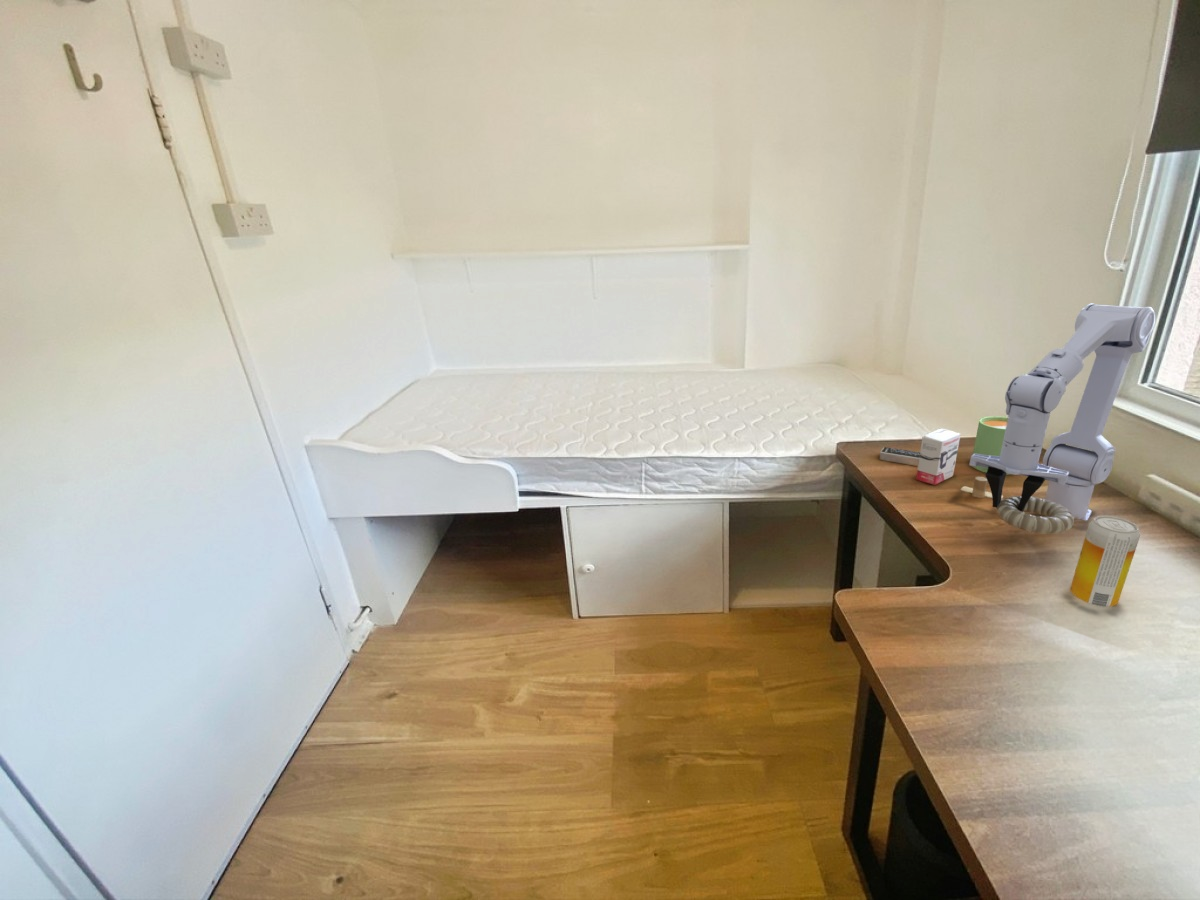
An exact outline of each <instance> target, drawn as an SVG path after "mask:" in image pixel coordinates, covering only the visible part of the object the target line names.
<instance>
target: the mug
mask: <svg viewBox="0 0 1200 900" xmlns="http://www.w3.org/2000/svg"><path fill="white" fill-rule="evenodd" d="M1007 421H1008V417H1007V416H984V417H981V418H980V419H979V420H978V424H977V426H978V427H977V430H976V435H975V441H974V446H973V451H972V455H973V454H974V453H975V454H981V455H991V456H1000V454H1001V449H1002V444H1003V440H1004V435H1005V430H1006V425H1007ZM971 467H972V468H974V469H975V470H977V471H980V472H983V473H986V472H987V470H988V468H986V467H981V466H971ZM1009 475H1011V474H1009V473H1007V474H1006V476H1009Z"/></svg>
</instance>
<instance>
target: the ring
mask: <svg viewBox="0 0 1200 900" xmlns="http://www.w3.org/2000/svg"><path fill="white" fill-rule="evenodd" d="M1021 496H1022V495H1016V496H1015V495H1013V496H1009V497H1006V498H1003V500H1001V501H1000V503H999V504H998V506H997V508H996V512H997V514H998V517H999V518H1000V519H1001V520H1002V521H1004V522H1005V523H1006V524H1008V525H1009V526H1012V527H1014V528H1017V529H1018V530H1022V531H1026V532H1030V533H1033V534H1042V535H1043V534H1044V535H1056V534H1057V535H1058V534H1062V533H1064V532H1067V531H1069V530H1071V529H1072V527H1073V525H1074V523H1075V519H1074V517H1073V515H1072V514H1071V512H1070V511H1069V510H1068V509H1066V508H1065V507H1063V506H1062V505H1060V504H1058V503H1055V502H1052V501H1050V500H1046V499H1045V498H1041V497H1037V496H1031V497H1030V499H1029V500H1028V502H1027V504H1026V506H1025V508H1024V511H1023V512H1021V511H1019V510H1018V506H1019V503H1020V500H1021ZM1030 513H1033V514H1030ZM1034 514H1035V515H1034ZM1036 514H1037V515H1036ZM1039 515H1041V516H1039Z"/></svg>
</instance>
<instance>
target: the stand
mask: <svg viewBox="0 0 1200 900" xmlns="http://www.w3.org/2000/svg"><path fill="white" fill-rule="evenodd" d="M987 486H988V481H987V479H986V476H985V477H984V476H975V477H974V482H973V486H972V487H969V486H966V485H964V486H962V487H961V488H960V490H959V491H962V492H966V493H971V496H972V497H974V498H978V499H983V498H985V497H987V498H991V499H993V498H992V492H991V491H987ZM1003 499H1004V495H1003V494H1002V496H1001V501H1002V500H1003Z"/></svg>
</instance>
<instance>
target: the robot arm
mask: <svg viewBox="0 0 1200 900" xmlns="http://www.w3.org/2000/svg"><path fill="white" fill-rule="evenodd" d="M1155 312H1156V311H1154V309H1153V308H1152V307H1151V306H1143V307H1140V306H1124V305H1123V306H1122V305H1109V304H1108V305H1106V304H1096V303H1088V304H1086V305H1085V306H1084V307H1083V308H1081V310H1080V311H1079V312H1078V314H1077V317H1076V319H1075V323H1074V332H1073V334H1072V336H1070V338H1069V339H1068V340H1067V341H1066V343H1065V344H1064V345H1063V346H1062V348H1057V349H1052V350H1051V351H1049V352H1048V353H1047V354H1046V355H1045V356H1044V357H1043V358H1042V359H1041V360H1040V361H1039V362H1038V363H1037V364H1036V365H1035V366H1033V368H1032V369H1031V370H1030V371H1029V372H1028V373H1027V374H1025V373H1024V374H1021V375H1019V376H1015V377H1014V378H1012V380H1011V381H1010V382H1009V384H1008V387H1007V389H1006V391H1005V394H1004V395H1005V396H1004V399H1005V404H1006V406H1005V407H1006V408H1005V414H1006V415H1007V416H1008V421H1007V425H1006V430H1005V435H1004V440H1003V444H1002V449H1001V454H1000V456H991V455H981V454H975V453H974V454H973V453H972V455H970V459H969V463H968V465H969V466H970V467H972V466H981V467H986V468H988V470H987V472H985V478H986V479H987V481H988V482H987V484H988V485H989V488H990V492H991V493H992V498H991V499H992V507H993V508H996V509H997V506H998V504H999V503H1000V502H1001V501H1002V500H1001V496H1002V495H1003V489H1004V488H1003V487H1004V484H1005V480H1006V476H1007V475H1006V474H1007V473H1009V474H1010V475H1013V476H1025V477H1026V478H1025V479H1024V480H1023V483H1022V491H1021V495H1020V496H1021V500H1020V503H1019V506H1018V510H1019V511H1021V512H1023V511H1024V508H1025V506H1026V504H1027V502H1028V500H1029V499H1030V497H1033V495H1034V494H1035V493H1036V492H1037V491H1038V490H1039V489H1040V488H1041V487H1042V486H1043V484H1044V483H1045V481H1048V484H1047V487H1046V493H1045V497H1044V499H1046V500H1050V501H1052V502H1055V503H1058V504H1060V505H1062V506H1063V507H1065V508H1066V509H1068V510H1069V511H1070V512H1071V514H1072V515H1073V517H1074V520H1075V519H1076V520H1077V519H1079V520H1083V521H1088V520H1089V518H1090V516H1091V514H1092V509H1089V507H1090V503H1091V499H1092V496H1093V492H1094V489H1095V486H1096V485H1099V484H1102V483H1103V482H1104V481H1106V480H1107V479H1108V477H1109V475H1110V474H1111V472H1112V469H1113V466H1114V458H1115V454H1116V448H1115V447H1114V446H1113V444H1111V443H1110V441H1108V440H1107V439H1106V438H1105V437H1104V436H1103V433H1104V430H1105V428H1106V424H1107V422H1108V419H1109V416H1110V413H1111V410H1112V408H1113V406H1114V402H1115V399H1116V398H1117V397H1116V396H1117V394H1118V390H1119V388H1120V385H1121V383H1122V380H1123V377H1124V374H1125V372H1126V369H1127V366H1128V363H1129V362H1130V360H1131V358H1132V355H1134V354H1139V353H1143V352H1144V351H1145V349H1146V347H1147V345H1148V343H1149V341H1150V338H1151V335H1152V331H1153V330H1154V327H1155V325H1156V313H1155ZM1093 352H1094V353H1095V358H1094V361H1093V364H1092V367H1091V370H1090V373H1089V376H1088V379H1087V381H1086V384H1085V388H1084V390H1083V393H1082V396H1081V399H1080V401H1079V405H1078V409H1077V411H1076V413H1075V417H1074V420H1073V423H1072V425H1071V429H1070V431H1065V432H1064V433H1060V434H1058V435H1056V436H1054V437H1053V438H1052V439H1051V442H1050V444H1049V446H1048V448H1047V449H1046V451H1045V452H1044V455H1043V457H1042V463H1040V462H1039V461H1040V457H1041V454H1042V449H1043V445H1044V441H1045V437H1046V433H1047V428H1048V424H1049V420H1050V416H1051V412H1053V411H1054V410H1055V409H1057V407H1058V406H1059V404H1060V402H1061V400H1062V397H1063V395H1065V392H1066V390H1067V388H1066V387H1068V385H1069V384H1070V383H1071V382H1072V381H1073V380H1074V379H1075V378H1076V377H1077V376H1078V375H1079V374H1080V373H1081V372H1082V370H1083V368H1084V359H1086V358H1087V357H1088V356H1090V355H1091V354H1093Z"/></svg>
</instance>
